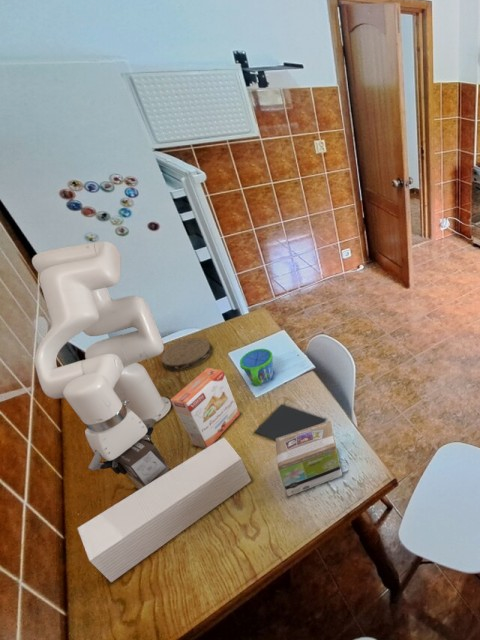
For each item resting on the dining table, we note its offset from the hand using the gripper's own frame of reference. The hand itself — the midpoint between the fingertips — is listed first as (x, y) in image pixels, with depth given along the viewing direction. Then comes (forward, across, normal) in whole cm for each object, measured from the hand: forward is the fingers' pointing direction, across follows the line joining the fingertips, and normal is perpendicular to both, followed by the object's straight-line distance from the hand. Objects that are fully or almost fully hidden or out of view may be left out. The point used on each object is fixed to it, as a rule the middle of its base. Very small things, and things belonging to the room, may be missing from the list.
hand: (136, 460), depth 105 cm
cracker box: (+11, -20, +3) cm, 23 cm away
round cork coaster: (+11, -42, -37) cm, 57 cm away
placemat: (+10, -29, +24) cm, 39 cm away
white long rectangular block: (+10, +4, +16) cm, 19 cm away
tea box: (+10, -18, +42) cm, 46 cm away
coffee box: (+10, 0, +2) cm, 11 cm away
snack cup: (+11, -43, -1) cm, 44 cm away
